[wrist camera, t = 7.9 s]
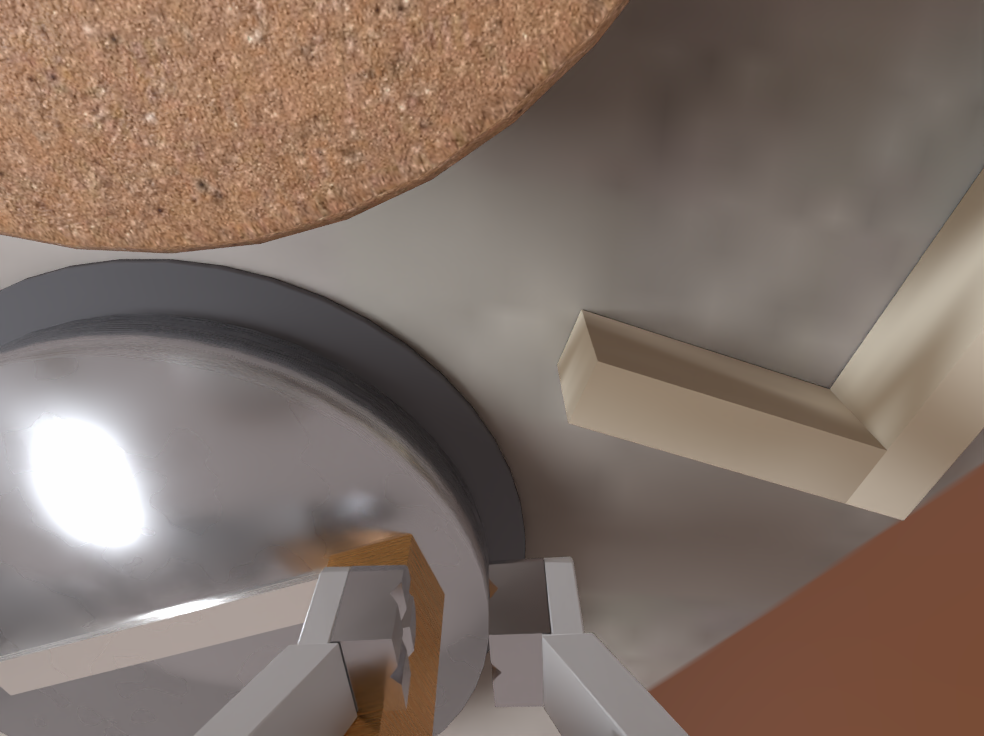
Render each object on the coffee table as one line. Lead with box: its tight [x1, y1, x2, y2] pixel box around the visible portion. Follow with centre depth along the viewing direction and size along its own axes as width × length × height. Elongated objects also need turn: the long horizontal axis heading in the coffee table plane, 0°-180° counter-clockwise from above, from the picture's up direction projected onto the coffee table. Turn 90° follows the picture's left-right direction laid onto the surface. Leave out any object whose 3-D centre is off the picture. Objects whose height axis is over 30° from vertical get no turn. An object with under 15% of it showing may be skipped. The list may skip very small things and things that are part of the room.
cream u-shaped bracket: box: [557, 168, 984, 520], centre depth 10 cm, size 17×8×2 cm, turn 161°
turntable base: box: [0, 259, 525, 654], centre depth 17 cm, size 17×17×1 cm
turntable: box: [0, 314, 489, 736], centre depth 14 cm, size 15×15×7 cm
